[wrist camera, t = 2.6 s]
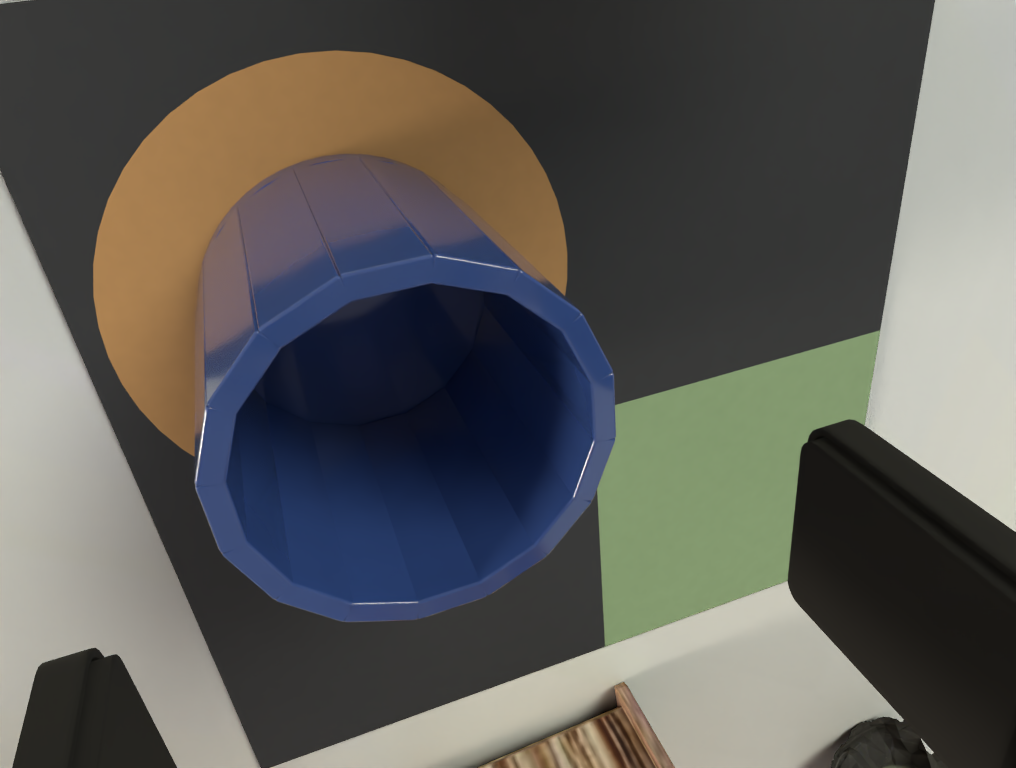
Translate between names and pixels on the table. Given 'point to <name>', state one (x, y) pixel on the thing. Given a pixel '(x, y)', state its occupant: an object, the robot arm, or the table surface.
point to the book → (596, 742)
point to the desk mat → (525, 226)
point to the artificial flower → (884, 747)
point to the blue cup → (387, 395)
